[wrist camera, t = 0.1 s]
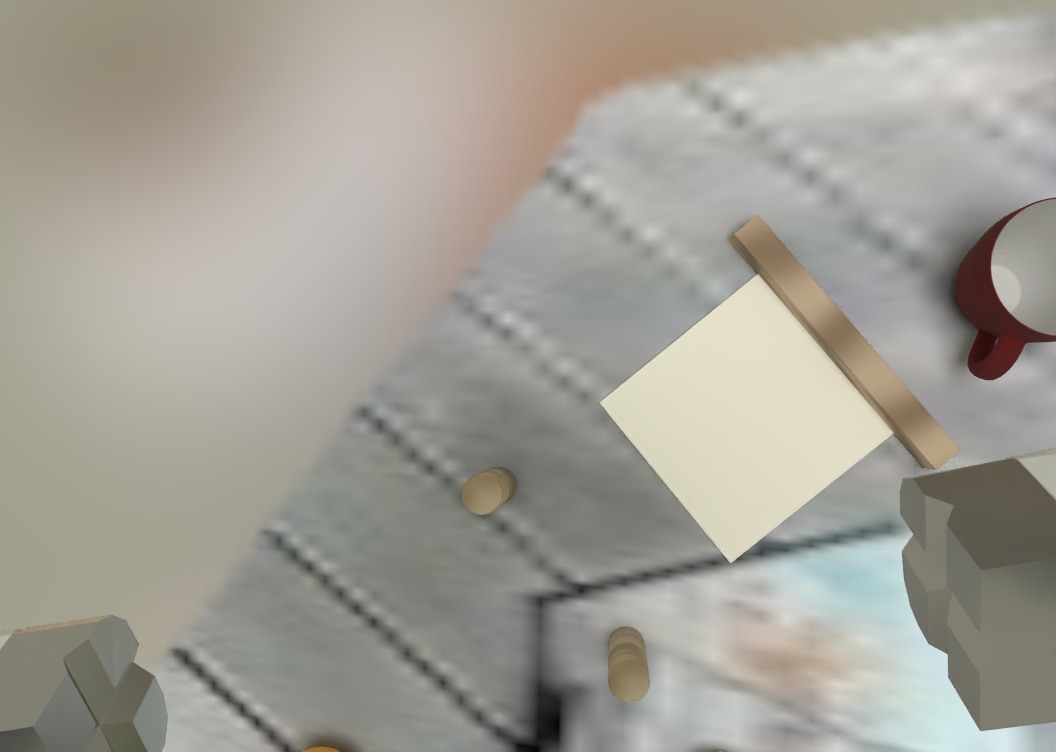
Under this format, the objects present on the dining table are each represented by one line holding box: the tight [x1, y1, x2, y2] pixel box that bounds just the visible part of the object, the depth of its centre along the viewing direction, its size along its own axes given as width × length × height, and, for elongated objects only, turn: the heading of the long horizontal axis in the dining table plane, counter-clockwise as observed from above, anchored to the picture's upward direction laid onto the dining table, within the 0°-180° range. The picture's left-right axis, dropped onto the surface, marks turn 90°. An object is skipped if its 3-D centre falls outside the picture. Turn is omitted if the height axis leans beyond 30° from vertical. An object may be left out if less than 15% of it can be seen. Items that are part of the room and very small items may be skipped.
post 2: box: [608, 627, 650, 702], centre depth 58 cm, size 2×2×9 cm
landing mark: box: [599, 274, 894, 563], centre depth 63 cm, size 14×14×1 cm
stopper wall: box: [730, 215, 960, 470], centre depth 61 cm, size 20×2×2 cm, turn 39°
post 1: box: [461, 467, 517, 515], centre depth 60 cm, size 2×2×9 cm
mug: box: [955, 198, 1056, 380], centre depth 57 cm, size 10×8×10 cm
